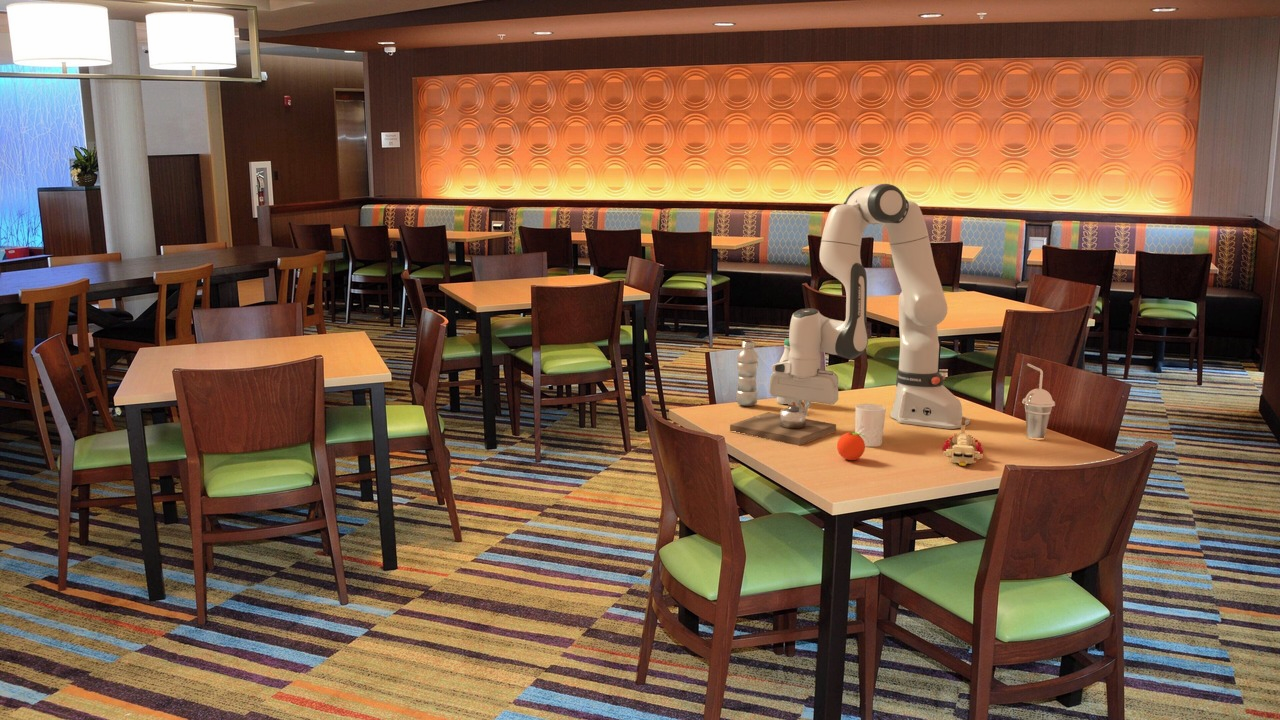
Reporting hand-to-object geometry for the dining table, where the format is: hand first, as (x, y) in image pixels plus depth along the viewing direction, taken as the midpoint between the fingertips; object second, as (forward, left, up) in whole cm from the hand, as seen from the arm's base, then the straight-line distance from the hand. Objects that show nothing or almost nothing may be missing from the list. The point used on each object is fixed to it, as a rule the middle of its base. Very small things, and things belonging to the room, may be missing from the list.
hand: (802, 415), depth 296 cm
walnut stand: (+2, +8, -3) cm, 9 cm away
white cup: (-22, +4, -4) cm, 23 cm away
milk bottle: (+19, -24, -4) cm, 31 cm away
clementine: (-26, +21, -4) cm, 34 cm away
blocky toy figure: (-46, -2, -4) cm, 46 cm away
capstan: (0, +4, -1) cm, 4 cm away
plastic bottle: (+27, -12, -4) cm, 30 cm away
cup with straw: (-54, -32, -4) cm, 63 cm away
